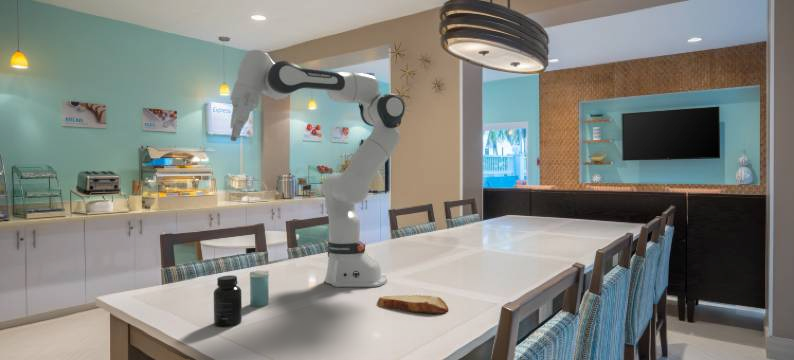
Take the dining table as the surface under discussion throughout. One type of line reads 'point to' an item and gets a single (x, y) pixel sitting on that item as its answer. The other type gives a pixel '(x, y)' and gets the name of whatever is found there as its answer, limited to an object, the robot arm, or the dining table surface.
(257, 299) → the cup
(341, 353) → the dining table surface
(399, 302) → the slice of bread
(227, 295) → the supplement bottle
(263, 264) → the dining table surface
